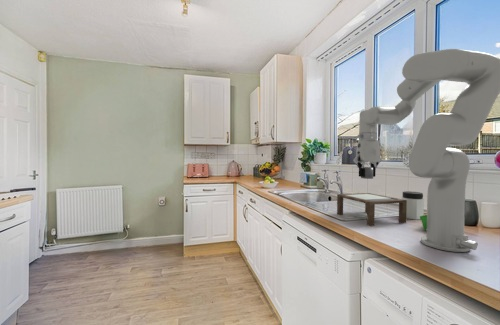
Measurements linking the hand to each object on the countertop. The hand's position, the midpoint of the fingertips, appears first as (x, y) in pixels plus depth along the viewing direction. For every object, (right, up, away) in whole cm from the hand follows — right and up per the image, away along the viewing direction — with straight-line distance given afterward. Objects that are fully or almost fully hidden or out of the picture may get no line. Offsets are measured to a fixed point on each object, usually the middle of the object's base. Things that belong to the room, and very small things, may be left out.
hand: (367, 176), depth 114 cm
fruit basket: (+20, -21, -16) cm, 33 cm away
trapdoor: (+2, -11, +1) cm, 12 cm away
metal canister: (0, -1, 0) cm, 1 cm away
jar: (+23, -20, +3) cm, 31 cm away
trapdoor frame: (+2, -20, +1) cm, 20 cm away
